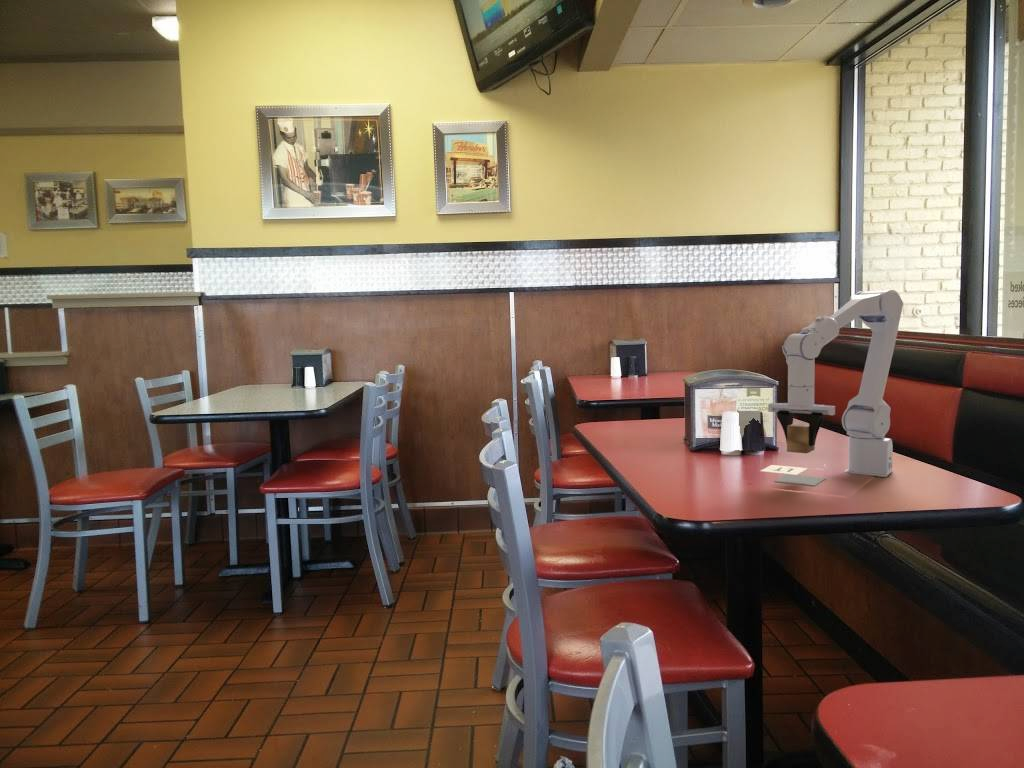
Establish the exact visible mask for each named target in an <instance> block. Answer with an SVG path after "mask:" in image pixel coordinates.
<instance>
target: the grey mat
mask: <svg viewBox="0 0 1024 768" xmlns="http://www.w3.org/2000/svg"><path fill="white" fill-rule="evenodd" d="M825 480H827V478H826V477H821V476H820V477H819V476H811V475H802V474H801V475H800V474H798V475H792V474H783V476H781V477H779V478H777V479H776V480H774V482H775V483H782V484H788V485H798V486H799V485H800V486H808V487H816V486H818V485H819V484H820V483H823V481H824V482H825Z"/></svg>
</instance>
